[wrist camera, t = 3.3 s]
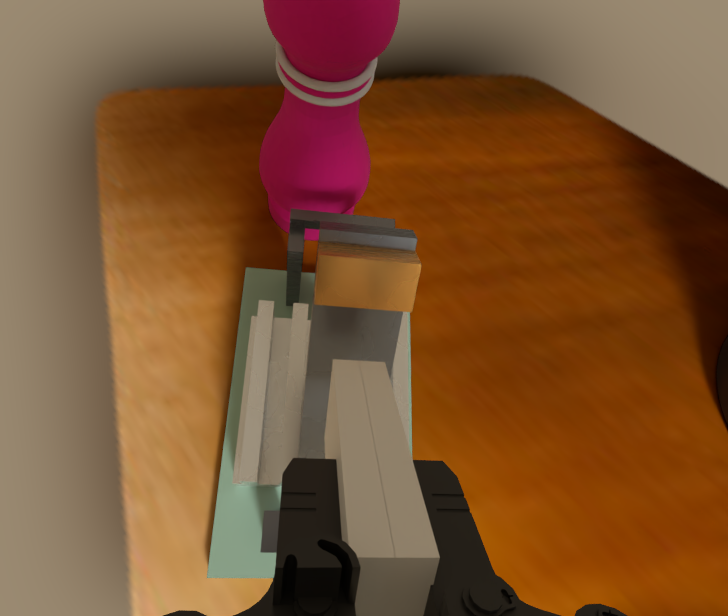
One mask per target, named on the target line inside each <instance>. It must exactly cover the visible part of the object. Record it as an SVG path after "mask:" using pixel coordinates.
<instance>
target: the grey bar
mask: <svg viewBox="0 0 728 616" xmlns="http://www.w3.org/2000/svg"><path fill="white" fill-rule="evenodd" d="M416 243H417V237H416V235H415V233H414V231H413V230H406V229H396V228H386V227H376V226H367V225H357V224H347V223H337V222H328V221H320V228H319V239H318V249H317V260H316V270H315V280H314V291H313V301H312V312H311V322H310V333H309V343H308V353H307V364H306V374H305V385H304V395H303V406H302V416H301V426H300V437H299V447H298V458H314V459H325V442H324V437H325V427H326V418H327V409H328V400H329V391H330V382H331V372H332V363H333V359H340V360H357V361H374V362H385V364H386V368H387V371H388V375H389V378H391V373H392V367H393V362H394V357H395V352H396V347H397V341H398V336H399V331H400V326H401V321H402V315H403V312H412V309H413V304H414V299H415V294H416V289H417V284H418V280H419V275H420V270H421V265H422V264H421V262H420V260H419V258H418V256H417V254H416V252H415V248H416Z"/></svg>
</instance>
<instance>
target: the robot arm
mask: <svg viewBox="0 0 728 616" xmlns="http://www.w3.org/2000/svg"><path fill="white" fill-rule="evenodd" d="M717 388H718V395H719V399H720V404H721V407H722V411H723V414H724V417H725V419H726V422H727V424H728V336H727V338H726V340H725V341H724V343H723V346H722V348H721V351H720V354H719V358H718V364H717ZM324 442H325V459H314V458H292V460H291V462H290V463H289V465H288V466H287V468H286V469H285V471H284V472H283V474H282V487H281V500H280V513H279V527H278V540H277V553H276V566H275V574H274V578H273V582H272V584H271V586H270V588H269V590H268V592H267V593H266V594H265V595H264V596H263V597H262V599H261V600H260V601H259V602H257V603H256V604H255V605H253V606H252V607H251V608H249V609H247V610H245V611H243V612H241V613H239V614H237V615H234V616H560V615H557V614H554V613H550V612H547V611H544V610H541V609H538V608H535V607H533V606H530V605H528V604H526V603H524V602H523V601H521V600H520V599H519V598H518V596H517V595H516V593H515V591H514V590H513V588H512V587H511V586H509V585H508V584H507V583H506V582H505V581H504V580H503V579H502V578H501V577H499V576H497V575H496V574H495V572H494V570H493V568H492V566H491V563H490V561H489V558H488V555H487V553H486V550H485V548H484V545H483V543H482V540H481V537H480V535H479V532H478V530H477V527H476V524H475V522H474V519H473V517H472V514H471V513H470V511H469V510H470V509H469V506H468V504H467V501H466V499H465V498H464V493H463V491H462V488H461V486H460V483H459V480H458V478H457V476H456V475H455V474H454V473H453V472H452V471H451V470H450V468H449V467H448V466H447V465H446V464H445V463H444V462H443V461H426V460H412V456H411V453H410V449H409V446H408V442H407V439H406V435H405V432H404V428H403V424H402V421H401V417H400V414H399V410H398V407H397V403H396V400H395V396H394V392H393V389H392V385H391V382H390V378H389V375H388V371H387V368H386V364H385V362H374V361H357V360H340V359H333V363H332V372H331V382H330V391H329V400H328V409H327V418H326V427H325V437H324ZM164 616H206V615H204V614H202V613H200V612H197V611H176V612H173V613H170V614H167V615H164ZM575 616H627V615H625V614H624V613H622V612H620V611H619V610H617V609H615V608H612V607H608V606H605V605H602V604H588V605H585V606H583V607H582V608H580V609H579V610H577V611H576V614H575Z"/></svg>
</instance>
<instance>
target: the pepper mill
mask: <svg viewBox="0 0 728 616" xmlns="http://www.w3.org/2000/svg"><path fill="white" fill-rule="evenodd" d="M263 2H264V11H265V15H266V18H267V22H268V25H269V27H270V29H271V31H272V33H273V35H274V37H275V38H276V45H275V51H276V61H275V64H276V70H277V74H278V76H279V78H280V80H281V82H282V83H283V85H284V86H285V94H284V100H283V103H282V106H281V109H280V110H279V112H278V114H277V115H276V117H275V118H274V120H273V122H272V123H271V125H270V126H269V128H268V130H267V132H266V134H265V137H264V140H263V142H262V146H261V150H260V161H259V172H260V176H261V180H262V183H263V185H264V187H265V189H266V191H267V193H268V205H269V210H270V213H271V216H272V218H273V219H274V221H275V222H276V224H277V225H278V226H279V227H280V228H281V229H282V230H284V231H285V232H287V233H288V234H289V228H290V212H291V208H292V209H301V210H311V211H320V212H330V213H339V214H349V215H353V211H354V207H355V204H356V203H357V202H358V201H359V200H360V199H361V197H362V196H363V194H364V192H365V190H366V187H367V185H368V180H369V174H370V156H369V149H368V145H367V142H366V139H365V137H364V134H363V132H362V129H361V127H360V124H359V116H358V114H359V103H360V98H361V97H363V96H364V95H365V94H366V93H367V92H368V90H369V89H370V87H371V85H372V82H373V79H374V71H375V69H376V66H377V56H379V55H380V54H381V53H382V52H383V51H384V50H385V48H386V47H387V45H388V44H389V42H390V40H391V38H392V36H393V33H394V30H395V27H396V24H397V20H398V13H399V4H400V0H263ZM304 239H305V240H318V239H319V230H316V229H306V228H305V237H304Z"/></svg>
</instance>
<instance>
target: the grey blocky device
mask: <svg viewBox="0 0 728 616" xmlns="http://www.w3.org/2000/svg"><path fill="white" fill-rule="evenodd" d="M320 221H328V222H337V223H347V224H357V225H367V226H376V227H386V228H395V219H387V218H377V217H368V216H358V215H349V214H339V213H330V212H320V211H311V210H301V209H292V208H291V212H290V228H289V239H288V250H287V285H286V306H293V314H292V319H289V318H276V317H275V306H274V301H265V300H259V304H258V313H257V316H252V317H251V326H250V334H249V343H248V352H247V360H246V369H245V378H244V386H243V395H242V403H241V412H240V421H239V429H238V438H237V446H236V455H235V464H234V472H233V481H232V484H234V485H236V486H253V487H282V474H283V472H284V471H285V469H286V468H287V466H288V465H289V463H290V462H291V460H292V458H298V447H299V437H300V426H301V416H302V406H303V395H304V385H305V374H306V364H307V353H308V343H309V333H310V322H311V320H307V319H308V305H309V304H303V303H299V294H300V283H301V272H302V261H303V249H304V237H305V228H306V229H316V230H319V228H320ZM390 382H391V385H392V389H393V392H394V396H395V400H396V403H397V407H398V410H399V414H400V417H401V421H402V424H403V428H404V432H405V435H406V439H407V442H408V446H409V389H408V315H407V312H403V315H402V321H401V326H400V331H399V336H398V341H397V347H396V352H395V357H394V362H393V367H392V373H391V378H390ZM279 513H280V510H264V518H263V529H262V540H261V551H260V553H277V540H278V527H279Z"/></svg>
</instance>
